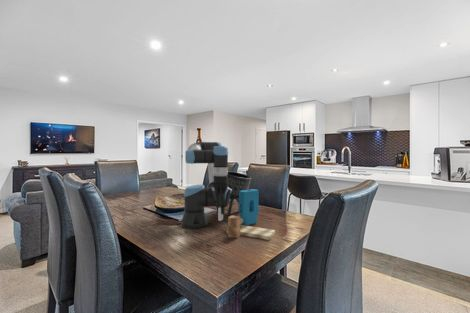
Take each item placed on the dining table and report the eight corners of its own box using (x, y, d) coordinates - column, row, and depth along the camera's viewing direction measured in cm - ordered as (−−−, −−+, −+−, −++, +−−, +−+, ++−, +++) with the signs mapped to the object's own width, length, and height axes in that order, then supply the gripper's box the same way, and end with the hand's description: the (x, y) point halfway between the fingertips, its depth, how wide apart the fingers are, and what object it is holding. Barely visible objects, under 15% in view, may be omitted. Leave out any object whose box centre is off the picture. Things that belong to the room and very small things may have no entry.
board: (226, 232, 121) (226, 229, 121) (234, 226, 130) (234, 223, 130) (269, 240, 111) (269, 236, 111) (275, 233, 120) (275, 229, 120)
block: (243, 226, 132) (243, 192, 131) (238, 223, 136) (238, 190, 135) (259, 222, 139) (259, 190, 138) (253, 220, 143) (254, 189, 142)
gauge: (227, 237, 115) (227, 217, 115) (237, 229, 126) (237, 211, 125) (236, 238, 113) (236, 218, 112) (245, 231, 124) (245, 212, 123)
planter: (211, 207, 158) (218, 171, 156) (227, 204, 174) (234, 171, 172) (233, 218, 147) (241, 178, 145) (248, 213, 163) (256, 178, 161)
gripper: (206, 175, 118) (206, 220, 118) (228, 176, 112) (228, 223, 113) (213, 174, 125) (213, 216, 125) (234, 175, 119) (234, 219, 120)
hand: (220, 219), depth 119 cm, fingers closed
